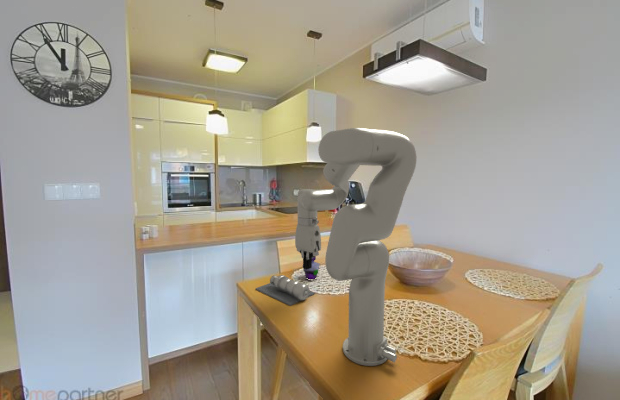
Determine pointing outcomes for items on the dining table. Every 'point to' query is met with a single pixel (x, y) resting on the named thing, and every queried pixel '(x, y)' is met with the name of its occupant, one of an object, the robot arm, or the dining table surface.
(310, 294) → the mat
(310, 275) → the potion bottle
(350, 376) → the dining table surface
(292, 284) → the plastic bottle
